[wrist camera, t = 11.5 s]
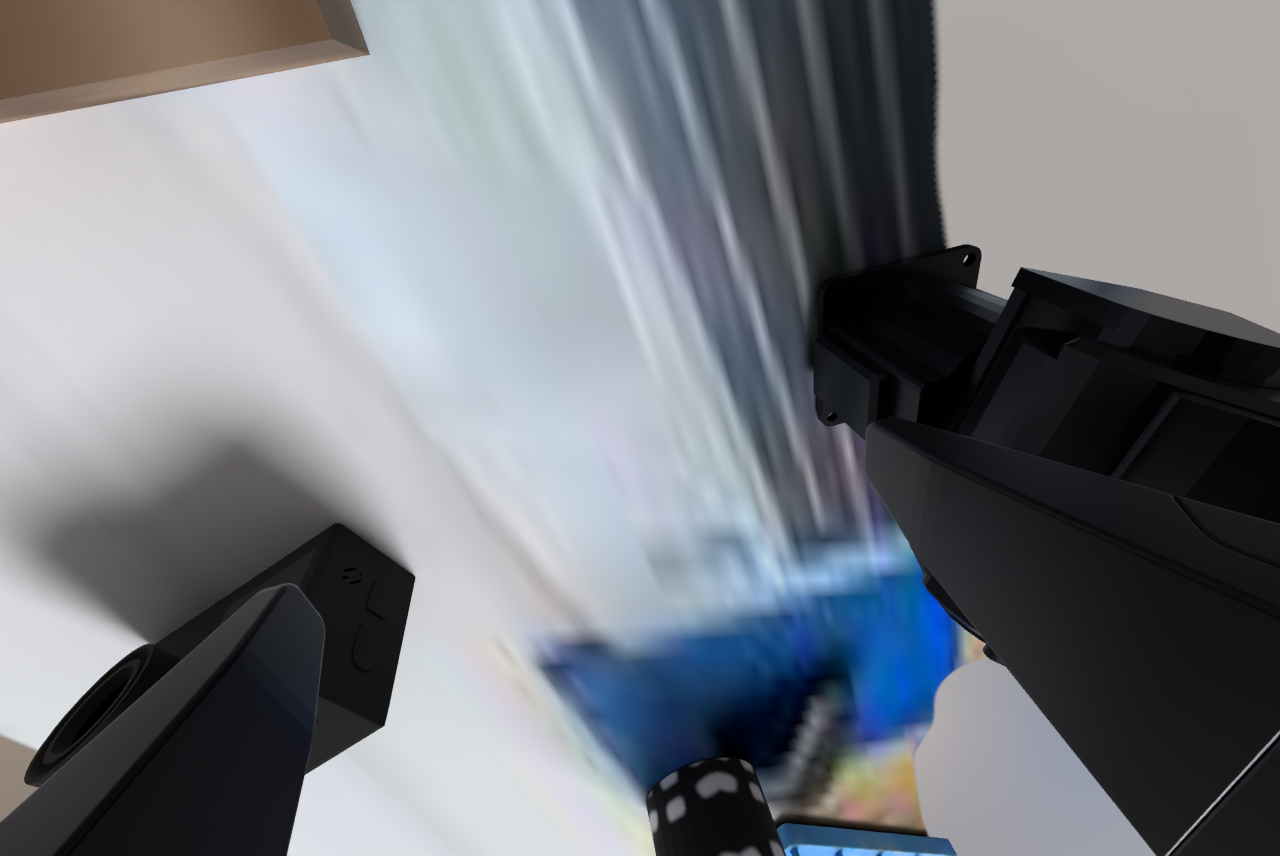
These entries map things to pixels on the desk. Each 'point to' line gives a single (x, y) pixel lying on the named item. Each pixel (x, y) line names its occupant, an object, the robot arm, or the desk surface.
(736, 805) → the spotted tube
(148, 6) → the walnut block
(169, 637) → the digital camera
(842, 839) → the file sorter
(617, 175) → the desk surface
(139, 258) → the desk surface
